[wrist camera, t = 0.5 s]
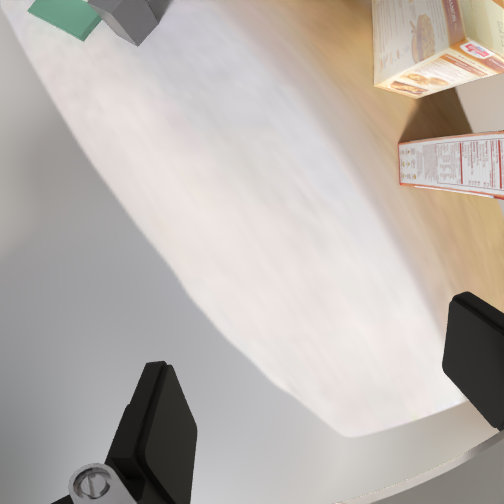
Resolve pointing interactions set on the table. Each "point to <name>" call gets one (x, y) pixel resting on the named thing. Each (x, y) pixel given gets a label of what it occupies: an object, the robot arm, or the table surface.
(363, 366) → the table surface
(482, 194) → the cracker box
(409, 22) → the coffeecake box
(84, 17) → the board
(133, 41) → the plug
